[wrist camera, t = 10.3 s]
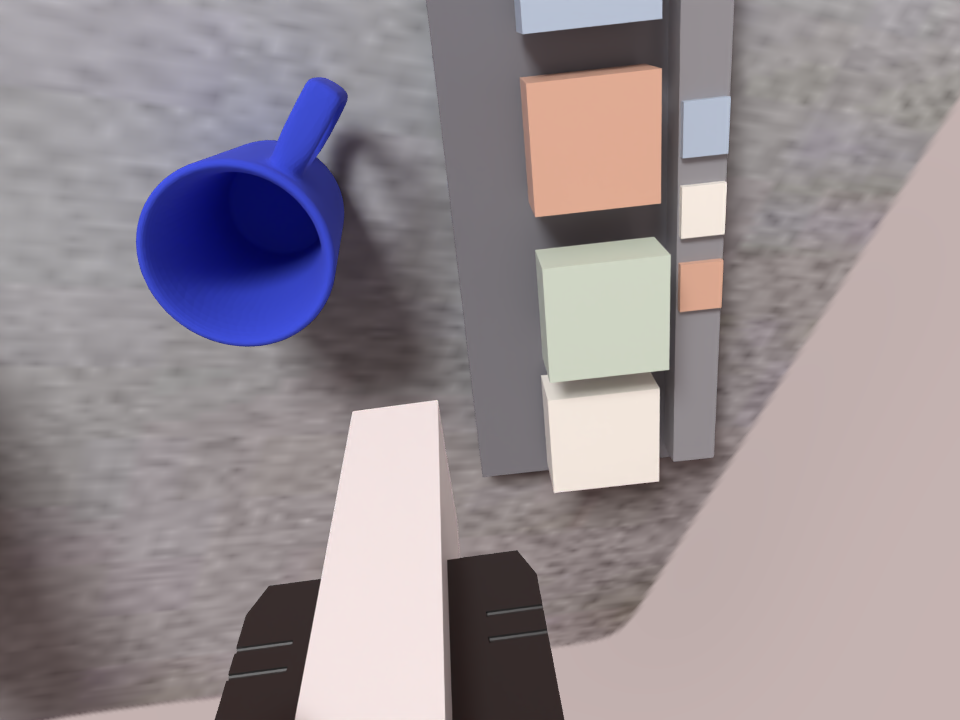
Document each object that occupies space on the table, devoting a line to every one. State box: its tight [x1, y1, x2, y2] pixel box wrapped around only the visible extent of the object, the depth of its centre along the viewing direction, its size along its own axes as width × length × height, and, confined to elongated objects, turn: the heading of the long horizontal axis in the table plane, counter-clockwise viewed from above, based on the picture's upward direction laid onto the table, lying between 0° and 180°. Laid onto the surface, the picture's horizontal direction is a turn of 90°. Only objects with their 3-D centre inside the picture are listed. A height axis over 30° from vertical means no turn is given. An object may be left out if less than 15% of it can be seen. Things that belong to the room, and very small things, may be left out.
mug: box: [136, 77, 348, 346], centre depth 35 cm, size 8×12×10 cm
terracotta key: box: [520, 64, 662, 217], centre depth 35 cm, size 6×6×3 cm
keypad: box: [426, 0, 734, 477], centre depth 39 cm, size 14×32×4 cm, turn 6°
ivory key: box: [541, 372, 660, 493], centre depth 42 cm, size 6×6×3 cm
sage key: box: [535, 237, 671, 383], centre depth 37 cm, size 6×6×3 cm
